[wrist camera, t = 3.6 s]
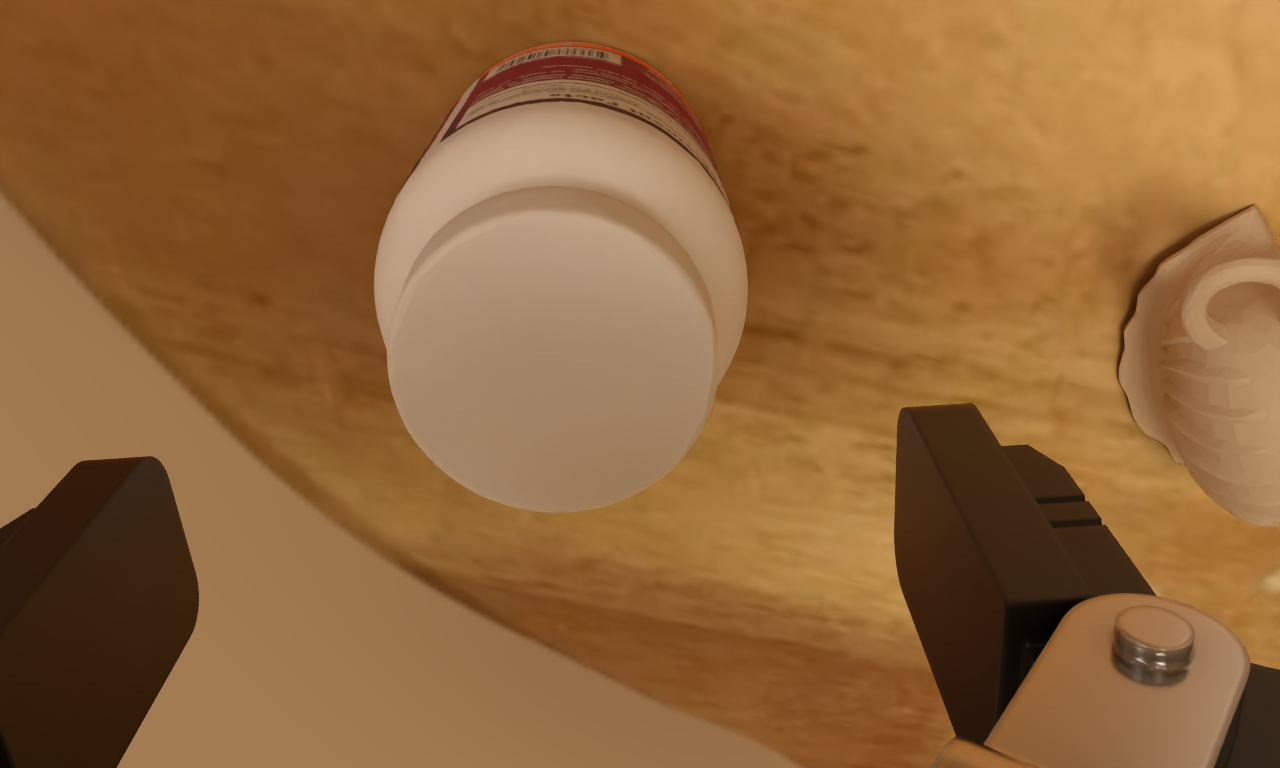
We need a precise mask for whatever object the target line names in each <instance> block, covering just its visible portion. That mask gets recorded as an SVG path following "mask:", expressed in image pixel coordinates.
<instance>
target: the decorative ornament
mask: <svg viewBox="0 0 1280 768" xmlns="http://www.w3.org/2000/svg"><path fill="white" fill-rule="evenodd" d="M1124 343H1125V347H1124V351H1123V354H1122V357H1121V362H1120V366H1119V381H1120V383H1121V385H1122V387H1123V389H1124V391H1125V392H1126V394H1127V396H1128V399H1129V403H1130V407H1131V411H1132V415H1133V417H1134V419H1135V421H1136V423H1137V425H1138V426H1139V427H1140V428H1141V429H1142V430H1143V432H1144V433H1145V434H1146V435H1147V436H1149V437H1151V438H1153V439H1155V440H1157V441H1159V442H1161V443H1163V444H1164V445H1165V446H1166V447H1167V448H1168V449H1169V451H1170V453H1171V455H1172V458H1173V459H1174V460H1175V461H1176V462H1177V463H1180V464H1184V465H1186V467H1187V468H1188V470H1189V472H1190V474H1191V476H1192V478H1193V479H1194V480H1195V481H1196V483H1197V484H1198V485H1199V486H1200V488H1201V489H1202V490H1203V491H1204V492H1205V494H1207V495H1208V496H1209V497H1210V498H1212V499H1213V500H1214V501H1215V502H1216V503H1217V504H1218V505H1220V506H1221V507H1222V508H1223V509H1225V510H1226V511H1228V512H1230V513H1231V514H1233V515H1234V516H1236V517H1237V518H1239V519H1240V520H1243V521H1246V522H1248V523H1251V524H1254V525H1256V526H1267V527H1269V526H1279V525H1280V247H1279V245H1278V244H1277V242H1276V241H1275V239H1274V238H1273V236H1272V234H1271V232H1270V230H1269V228H1268V226H1267V223H1266V221H1265V219H1264V217H1263V215H1262V214H1261V212H1260V211H1259V209H1258V208H1257V206H1256V205H1253V206H1251V207H1249V208H1247V209H1246V210H1244V211H1242V212H1240V213H1239V214H1237V215H1235V216H1233V217H1232V218H1230V219H1228V220H1226V221H1225V222H1223V223H1221V224H1219V225H1218V226H1216V227H1214V228H1213V229H1211V230H1209V231H1207V232H1206V233H1204V234H1202V235H1201V236H1199V237H1197V238H1196V239H1195V240H1194V241H1193V242H1191V243H1190V244H1189V245H1188V246H1186V247H1185V248H1183V249H1181V250H1180V251H1178V252H1177V253H1175V254H1173V255H1172V256H1170V257H1168V258H1167V259H1166V260H1164V261H1163V262H1162V263H1161V264H1160V265H1159V266H1158V268H1157V270H1156V272H1155V275H1154V276H1153V277H1152V278H1151V279H1150V281H1149V282H1148V283H1147V284H1146V285H1145V286H1144V287H1143V288H1142V289H1141V290H1140V292H1139V294H1138V297H1137V307H1136V311H1135V314H1134V315H1133V317H1132V318H1131V319H1130V321H1129V322H1128V323H1127V325H1126V326H1125V330H1124Z"/></svg>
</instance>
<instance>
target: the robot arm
mask: <svg viewBox="0 0 1280 768" xmlns="http://www.w3.org/2000/svg"><path fill="white" fill-rule="evenodd" d="M894 545H895V557H896V565H897V572H898V577H899V582H900V586H901V589H902V592H903V595H904V598H905V600H906V603H907V606H908V608H909V611H910V614H911V616H912V619H913V622H914V624H915V627H916V630H917V632H918V635H919V638H920V640H921V643H922V646H923V648H924V651H925V654H926V656H927V659H928V662H929V664H930V667H931V670H932V672H933V675H934V678H935V680H936V683H937V686H938V689H939V691H940V694H941V697H942V699H943V702H944V705H945V707H946V710H947V713H948V715H949V718H950V721H951V723H952V726H953V729H954V731H955V734H956V737H955V738H953V739H952V740H950V741H949V742H948V743H947V744H946V745H945V747H944V748H943V749H942V751H941V752H940V753H939V755H938V756H937V758H936V759H935V761H934V762H933V764H932V765H931V767H930V768H1280V670H1278V669H1273V668H1268V667H1264V666H1261V665H1257V664H1253V663H1250V658H1249V655H1248V652H1247V650H1246V648H1245V646H1244V645H1243V643H1242V642H1241V640H1240V639H1239V638H1238V636H1237V635H1236V634H1235V633H1233V632H1232V631H1231V630H1230V629H1229V628H1228V627H1227V626H1226V625H1224V624H1223V623H1222V622H1220V621H1219V620H1218V619H1216V618H1214V617H1212V616H1211V615H1209V614H1207V613H1205V612H1204V611H1201V610H1199V609H1197V608H1195V607H1192V606H1190V605H1187V604H1184V603H1181V602H1178V601H1175V600H1172V599H1168V598H1163V597H1159V596H1156V594H1155V593H1154V592H1153V590H1152V589H1151V587H1150V586H1149V585H1148V583H1147V582H1146V580H1145V579H1144V578H1143V576H1142V575H1141V573H1140V572H1139V571H1138V569H1137V568H1136V566H1135V565H1134V564H1133V562H1132V561H1131V559H1130V558H1129V557H1128V555H1127V554H1126V553H1125V551H1124V550H1123V548H1122V547H1121V546H1120V544H1119V543H1118V541H1117V540H1116V539H1115V537H1114V536H1113V534H1112V533H1111V532H1110V530H1109V529H1108V527H1107V526H1106V525H1102V522H1101V518H1100V516H1099V515H1098V513H1097V512H1096V511H1095V509H1094V508H1093V507H1092V505H1091V504H1090V502H1089V501H1085V495H1084V494H1083V493H1082V491H1081V490H1080V488H1079V487H1078V486H1077V484H1076V483H1075V481H1074V480H1073V479H1072V477H1071V476H1070V474H1069V473H1068V472H1067V470H1066V469H1065V468H1064V467H1063V466H1061V465H1060V464H1058V463H1056V462H1055V461H1053V460H1051V459H1050V458H1048V457H1047V456H1045V455H1043V454H1042V453H1040V452H1038V451H1037V450H1035V449H1034V448H1032V447H1030V446H1029V445H1014V446H1001V445H1000V444H999V442H998V440H997V439H996V437H995V436H994V434H993V433H992V431H991V429H990V428H989V426H988V425H987V423H986V421H985V420H984V418H983V417H982V415H981V414H980V412H979V410H978V409H977V407H976V406H975V405H974V404H972V403H966V404H951V405H936V406H921V407H906V408H902V409H901V411H900V414H899V419H898V426H897V453H896V487H895V520H894ZM198 606H199V590H198V581H197V577H196V572H195V569H194V565H193V562H192V558H191V555H190V552H189V548H188V544H187V540H186V537H185V533H184V530H183V527H182V523H181V519H180V516H179V512H178V509H177V505H176V502H175V498H174V495H173V491H172V488H171V484H170V481H169V478H168V475H167V472H166V470H165V468H164V467H163V465H162V463H161V462H160V461H159V460H158V459H156V458H155V457H151V456H148V457H133V458H118V459H104V460H89V461H82V462H79V463H77V464H76V465H75V466H74V467H73V468H72V469H71V470H70V471H69V473H68V474H67V475H66V476H65V477H64V478H63V479H62V480H61V481H60V482H59V483H58V484H57V486H56V487H55V488H54V489H53V490H52V491H51V492H50V493H49V494H48V495H47V497H46V498H45V499H44V500H43V501H42V502H41V503H40V504H39V505H38V507H36V508H33V509H31V510H29V511H28V512H26V513H25V514H23V515H21V516H20V517H18V518H16V519H15V520H13V521H12V522H10V523H9V524H7V525H5V526H4V527H2V528H1V529H0V768H117V766H118V764H119V762H120V760H121V759H122V757H123V755H124V753H125V752H126V750H127V748H128V746H129V745H130V743H131V741H132V739H133V737H134V736H135V734H136V732H137V730H138V728H139V727H140V725H141V723H142V721H143V720H144V718H145V716H146V714H147V713H148V711H149V709H150V707H151V706H152V704H153V702H154V700H155V698H156V697H157V695H158V693H159V691H160V690H161V688H162V686H163V684H164V683H165V681H166V679H167V677H168V675H169V674H170V672H171V670H172V668H173V667H174V665H175V663H176V661H177V660H178V658H179V656H180V654H181V652H182V651H183V649H184V647H185V645H186V644H187V642H188V640H189V638H190V636H191V634H192V632H193V630H194V627H195V623H196V620H197V614H198Z"/></svg>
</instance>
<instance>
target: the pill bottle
mask: <svg viewBox="0 0 1280 768" xmlns="http://www.w3.org/2000/svg"><path fill="white" fill-rule="evenodd" d="M374 295H375V307H376V313H377V319H378V323H379V327H380V330H381V334H382V337H383V341H384V344H385V346H386V349H387V365H388V376H389V382H390V388H391V392H392V395H393V398H394V401H395V404H396V407H397V409H398V412H399V414H400V416H401V419H402V421H403V423H404V425H405V427H406V429H407V430H408V432H409V433H410V435H411V436H412V438H413V439H414V441H415V442H416V444H417V445H418V446H419V447H420V449H421V450H422V451H423V452H424V453H425V455H426V456H427V457H428V458H429V459H430V460H431V461H432V462H433V463H434V464H435V465H436V466H437V467H438V468H439V469H441V470H442V471H443V472H444V473H446V474H447V475H448V476H449V477H450V478H452V479H453V480H455V481H456V482H458V483H459V484H461V485H462V486H464V487H465V488H467V489H469V490H470V491H472V492H474V493H476V494H478V495H480V496H482V497H484V498H487V499H489V500H492V501H495V502H498V503H501V504H504V505H507V506H510V507H513V508H518V509H523V510H529V511H536V512H543V513H571V512H580V511H587V510H591V509H596V508H601V507H605V506H609V505H611V504H614V503H617V502H620V501H622V500H625V499H627V498H630V497H632V496H634V495H635V494H637V493H639V492H641V491H643V490H645V489H646V488H648V487H650V486H651V485H653V484H654V483H656V482H657V481H658V480H660V479H661V478H662V477H664V476H665V475H666V474H668V473H669V472H670V471H671V470H672V469H673V468H674V467H675V466H676V465H677V464H678V463H679V462H680V460H681V459H682V458H683V457H684V456H685V455H686V454H687V453H688V451H689V450H690V449H691V447H692V446H693V445H694V443H695V441H696V440H697V438H698V437H699V435H700V433H701V431H702V429H703V427H704V425H705V423H706V421H707V419H708V417H709V415H710V412H711V409H712V405H713V402H714V398H715V394H716V390H717V387H718V385H719V384H720V382H721V380H722V378H723V377H724V375H725V373H726V371H727V369H728V368H729V366H730V364H731V362H732V360H733V357H734V355H735V353H736V350H737V348H738V345H739V342H740V338H741V335H742V332H743V328H744V323H745V317H746V312H747V302H748V277H747V266H746V260H745V255H744V249H743V245H742V242H741V238H740V235H739V230H738V227H737V224H736V221H735V218H734V215H733V213H732V211H731V207H730V204H729V201H728V198H727V195H726V193H725V191H724V188H723V185H722V183H721V180H720V177H719V174H718V171H717V168H716V165H715V163H714V160H713V157H712V154H711V151H710V148H709V146H708V143H707V140H706V137H705V135H704V132H703V129H702V127H701V125H700V123H699V121H698V119H697V117H696V115H695V114H694V112H693V111H692V109H691V108H690V106H689V105H688V104H687V102H686V101H685V100H684V98H683V97H682V95H681V94H680V93H679V92H678V91H677V90H676V89H675V88H674V86H673V85H672V84H671V83H670V82H669V81H668V80H667V79H666V78H665V77H663V76H662V75H661V74H660V73H659V72H657V71H656V70H655V69H653V68H652V67H651V66H649V65H648V64H646V63H644V62H643V61H641V60H639V59H638V58H636V57H634V56H632V55H630V54H627V53H625V52H622V51H620V50H617V49H614V48H610V47H607V46H603V45H598V44H593V43H586V42H557V43H550V44H544V45H539V46H535V47H532V48H528V49H525V50H522V51H520V52H518V53H516V54H514V55H512V56H510V57H508V58H506V59H504V60H502V61H501V62H499V63H497V64H496V65H494V66H493V67H491V68H490V69H489V70H487V71H486V72H485V73H484V74H483V75H481V76H480V77H479V78H478V79H477V80H476V81H475V82H474V83H473V84H472V85H471V86H470V87H469V88H468V89H467V90H466V92H465V93H464V94H463V95H462V96H461V97H460V98H459V99H458V101H457V102H456V104H455V105H454V107H453V108H452V110H451V111H450V113H449V114H448V116H447V117H446V119H445V121H444V122H443V124H442V125H441V127H440V129H439V130H438V132H437V133H436V135H435V136H434V138H433V140H432V141H431V143H430V144H429V146H428V147H427V148H426V149H425V150H424V153H423V155H422V156H421V158H420V159H419V161H418V162H417V164H416V165H415V166H414V168H413V170H412V172H411V173H410V175H409V176H408V178H407V179H406V181H405V183H404V184H403V186H402V188H401V190H400V192H399V193H398V195H397V197H396V199H395V201H394V203H393V205H392V208H391V210H390V212H389V214H388V217H387V220H386V222H385V225H384V228H383V231H382V235H381V238H380V241H379V246H378V251H377V256H376V263H375V271H374Z"/></svg>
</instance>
